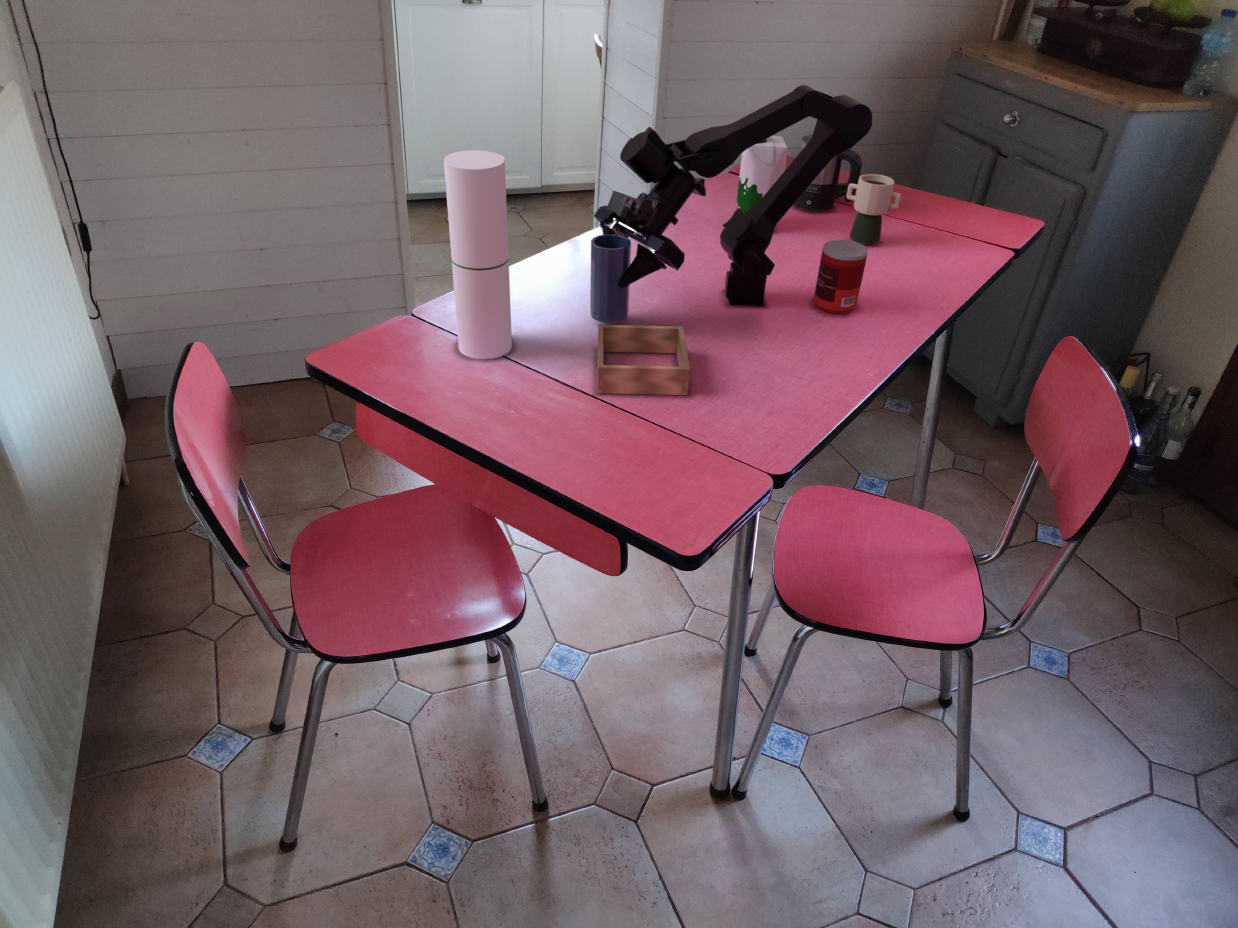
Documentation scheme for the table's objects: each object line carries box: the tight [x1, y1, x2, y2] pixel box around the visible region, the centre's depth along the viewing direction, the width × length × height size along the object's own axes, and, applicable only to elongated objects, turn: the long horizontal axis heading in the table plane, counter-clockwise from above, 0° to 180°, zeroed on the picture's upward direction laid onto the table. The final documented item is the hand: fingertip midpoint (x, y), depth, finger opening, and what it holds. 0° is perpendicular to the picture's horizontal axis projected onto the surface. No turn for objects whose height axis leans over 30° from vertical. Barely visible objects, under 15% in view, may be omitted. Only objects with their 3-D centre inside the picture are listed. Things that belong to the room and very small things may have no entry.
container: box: [443, 149, 513, 360], centre depth 135 cm, size 9×9×30 cm
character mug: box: [847, 173, 902, 245], centre depth 182 cm, size 11×7×13 cm, turn 61°
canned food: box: [813, 239, 869, 316], centre depth 157 cm, size 8×8×11 cm
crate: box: [596, 324, 691, 396], centre depth 138 cm, size 14×14×4 cm
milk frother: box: [793, 133, 863, 213], centre depth 200 cm, size 14×16×15 cm
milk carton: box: [736, 135, 788, 212], centre depth 185 cm, size 9×9×20 cm
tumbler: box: [589, 234, 632, 324], centre depth 147 cm, size 6×6×13 cm
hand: (608, 279), depth 147 cm, fingers closed on tumbler, 6 cm apart
